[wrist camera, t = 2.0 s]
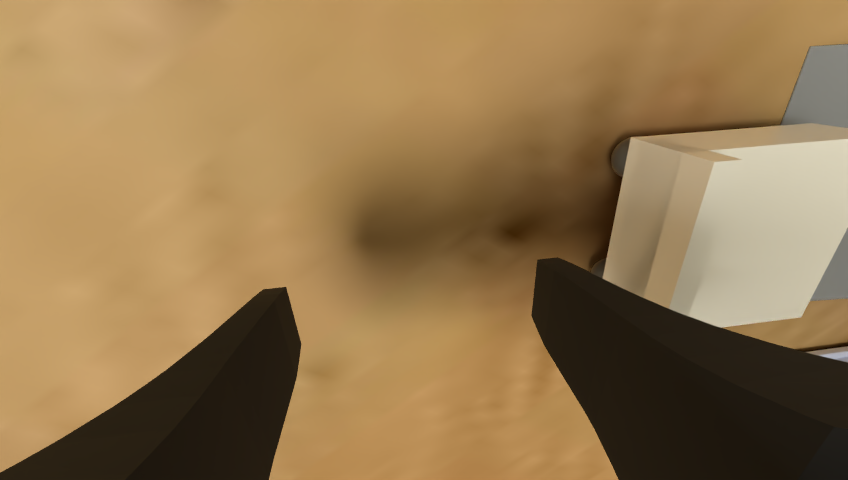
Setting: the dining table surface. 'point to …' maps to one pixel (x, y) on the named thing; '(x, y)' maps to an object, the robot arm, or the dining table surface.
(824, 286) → the dock
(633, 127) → the dining table surface
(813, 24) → the dining table surface
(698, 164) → the cream notched block
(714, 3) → the dining table surface
